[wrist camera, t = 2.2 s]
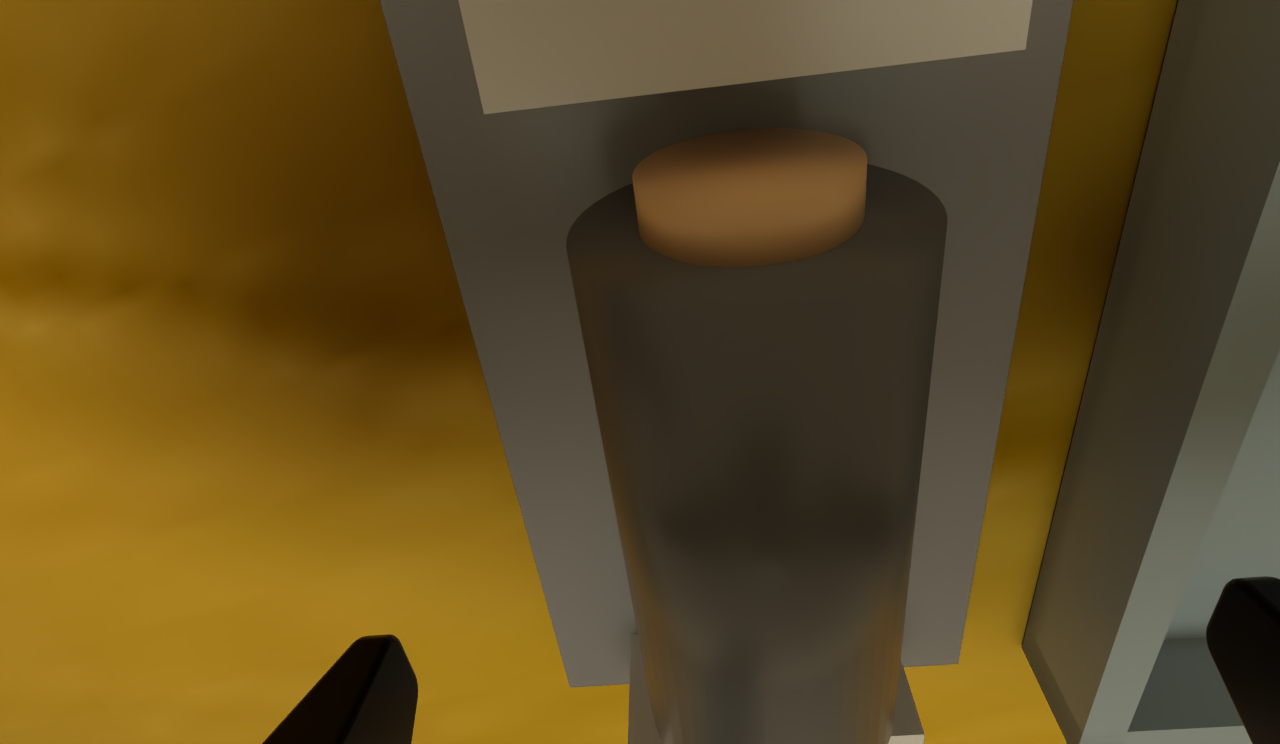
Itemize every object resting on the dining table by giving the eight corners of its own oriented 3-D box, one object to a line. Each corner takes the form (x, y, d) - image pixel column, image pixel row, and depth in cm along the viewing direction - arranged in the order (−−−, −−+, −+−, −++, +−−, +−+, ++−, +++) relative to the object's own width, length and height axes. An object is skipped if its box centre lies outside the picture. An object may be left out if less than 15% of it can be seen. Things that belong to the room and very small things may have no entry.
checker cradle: (942, 623, 16) (1003, 781, 14) (574, 647, 17) (558, 803, 14) (1061, -173, 9) (1257, -193, 6) (386, -78, 9) (268, -57, 7)
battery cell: (862, 586, 14) (926, 804, 11) (650, 601, 15) (650, 818, 11) (892, 92, 9) (1024, 215, 6) (574, 130, 10) (532, 266, 6)
